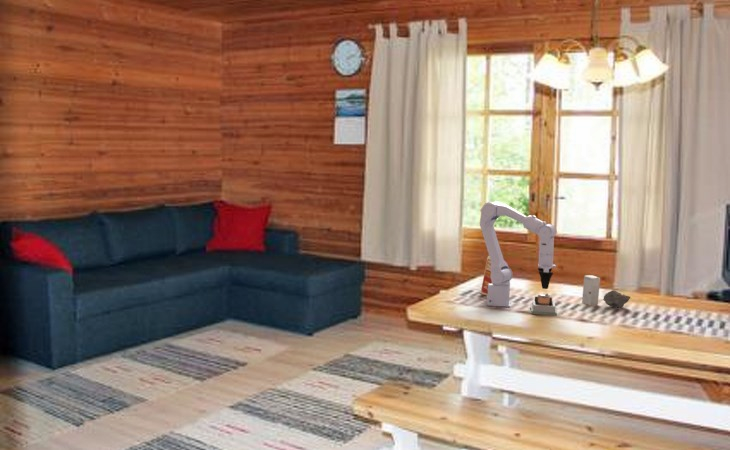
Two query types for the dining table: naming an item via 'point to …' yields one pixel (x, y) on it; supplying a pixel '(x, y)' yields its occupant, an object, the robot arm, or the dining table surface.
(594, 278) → the skincare box
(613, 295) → the fossil
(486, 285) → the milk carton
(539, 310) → the grey green open box
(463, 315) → the dining table surface
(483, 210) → the robot arm
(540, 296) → the spout can
